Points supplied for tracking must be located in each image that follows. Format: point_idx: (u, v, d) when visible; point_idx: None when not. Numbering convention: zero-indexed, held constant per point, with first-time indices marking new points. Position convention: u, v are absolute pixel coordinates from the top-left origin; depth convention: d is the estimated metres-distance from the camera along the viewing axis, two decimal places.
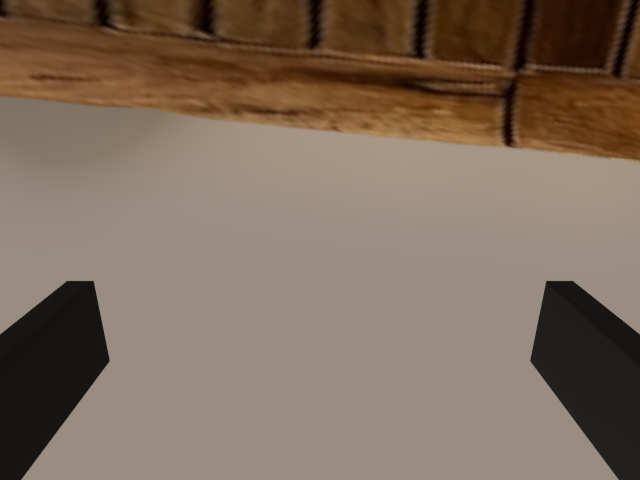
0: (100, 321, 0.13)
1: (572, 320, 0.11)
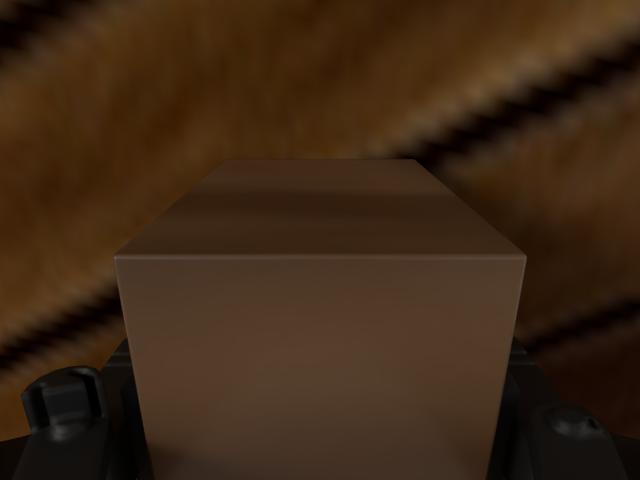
0: None
1: None
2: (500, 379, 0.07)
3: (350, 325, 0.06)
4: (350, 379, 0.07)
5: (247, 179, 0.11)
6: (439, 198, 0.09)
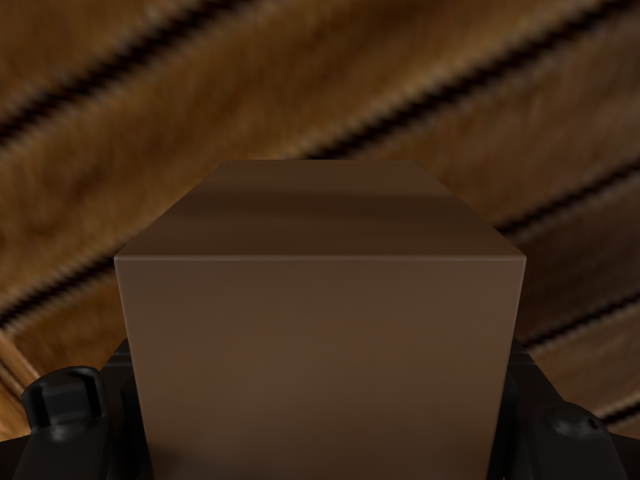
0: None
1: None
2: (500, 380, 0.07)
3: (349, 325, 0.07)
4: (350, 380, 0.07)
5: (247, 180, 0.11)
6: (439, 199, 0.09)
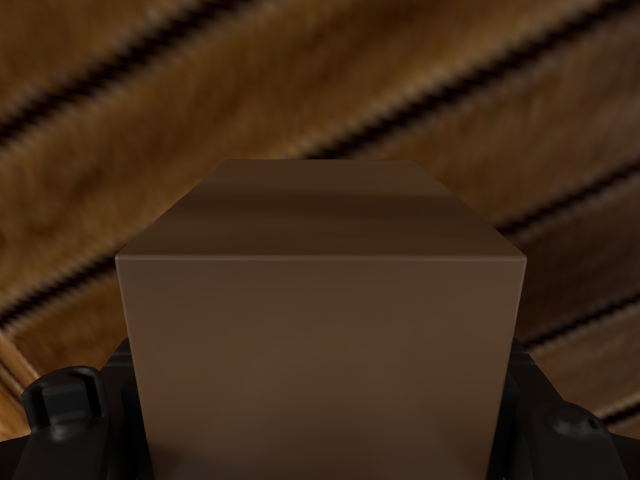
0: None
1: None
2: (500, 380, 0.07)
3: (350, 325, 0.07)
4: (350, 379, 0.07)
5: (248, 179, 0.11)
6: (439, 199, 0.09)
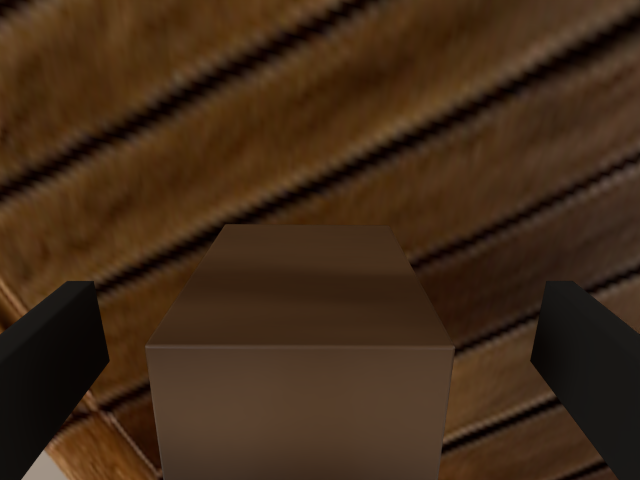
0: (100, 321, 0.13)
1: (572, 320, 0.11)
2: (439, 436, 0.09)
3: (323, 396, 0.09)
4: (324, 436, 0.09)
5: (244, 252, 0.13)
6: (400, 279, 0.11)
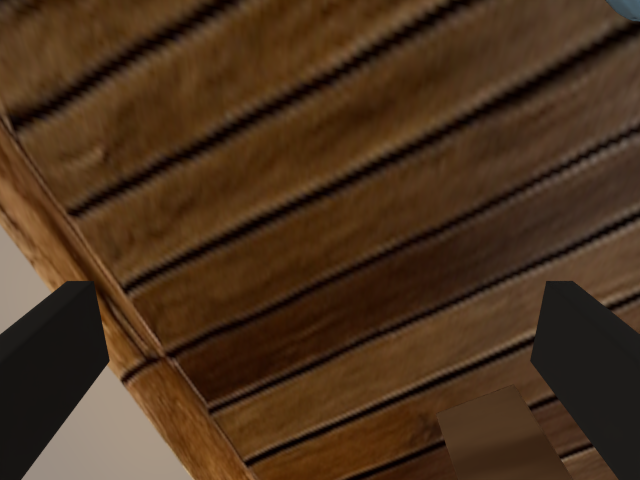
0: (100, 321, 0.13)
1: (572, 320, 0.11)
2: None
3: None
4: None
5: (462, 439, 0.29)
6: (538, 438, 0.26)
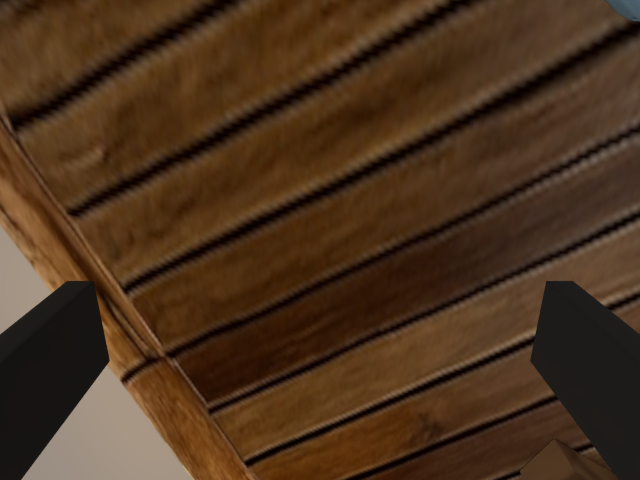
0: (100, 321, 0.13)
1: (572, 320, 0.11)
2: None
3: None
4: None
5: None
6: (573, 476, 0.46)
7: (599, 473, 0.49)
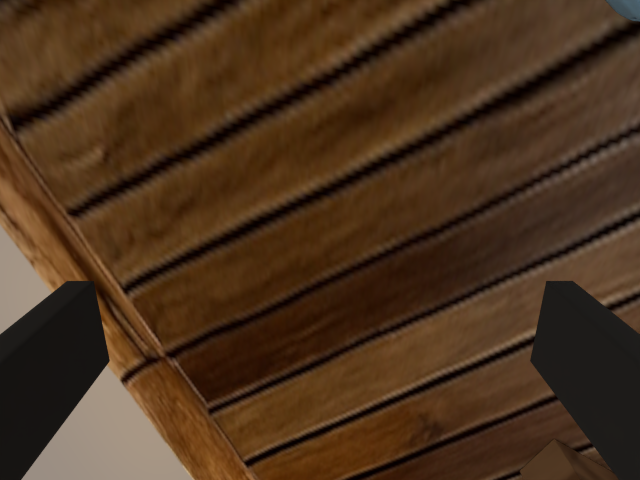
0: (100, 321, 0.13)
1: (572, 320, 0.11)
2: None
3: None
4: None
5: None
6: (573, 476, 0.46)
7: (599, 473, 0.49)
